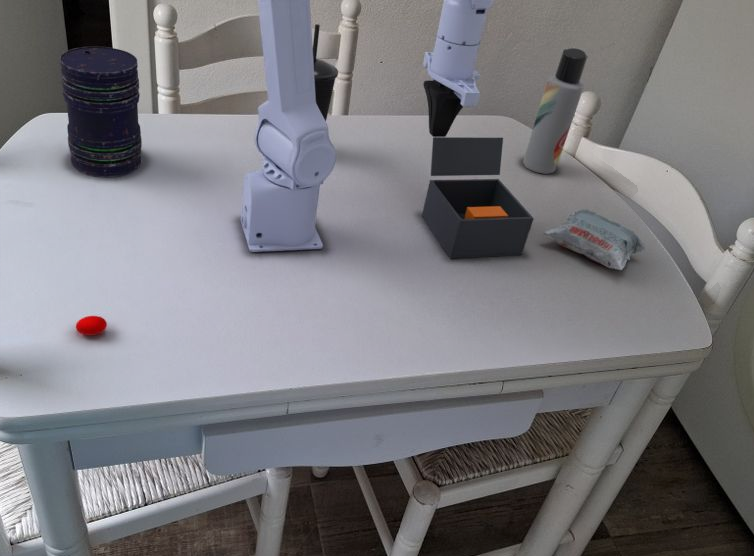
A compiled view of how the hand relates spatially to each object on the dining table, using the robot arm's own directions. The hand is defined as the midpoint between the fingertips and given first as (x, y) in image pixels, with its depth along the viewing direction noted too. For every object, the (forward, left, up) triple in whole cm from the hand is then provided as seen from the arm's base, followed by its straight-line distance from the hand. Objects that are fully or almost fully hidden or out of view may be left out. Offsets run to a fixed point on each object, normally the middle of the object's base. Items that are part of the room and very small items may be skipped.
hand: (437, 134), depth 100 cm
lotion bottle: (+25, +10, -11) cm, 29 cm away
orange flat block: (+3, -13, -10) cm, 17 cm away
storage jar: (-45, +13, -11) cm, 48 cm away
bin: (+3, -10, -11) cm, 15 cm away
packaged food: (+19, -16, -11) cm, 27 cm away
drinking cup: (-15, +16, -11) cm, 24 cm away
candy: (-47, -25, -11) cm, 54 cm away
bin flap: (+3, -4, -1) cm, 5 cm away
